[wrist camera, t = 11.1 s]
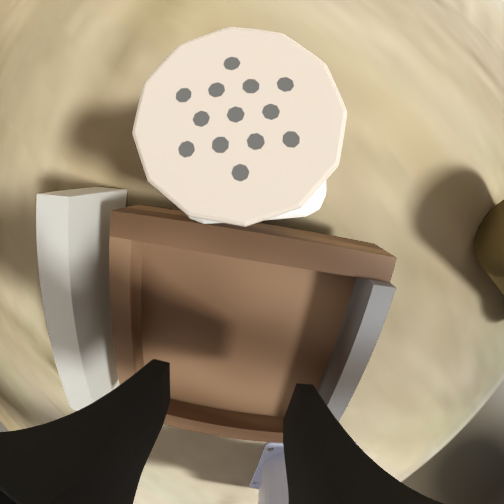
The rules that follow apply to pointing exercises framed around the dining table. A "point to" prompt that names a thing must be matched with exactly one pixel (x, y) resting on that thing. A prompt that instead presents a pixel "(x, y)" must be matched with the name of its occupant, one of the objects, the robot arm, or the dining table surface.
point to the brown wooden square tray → (243, 315)
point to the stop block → (78, 287)
